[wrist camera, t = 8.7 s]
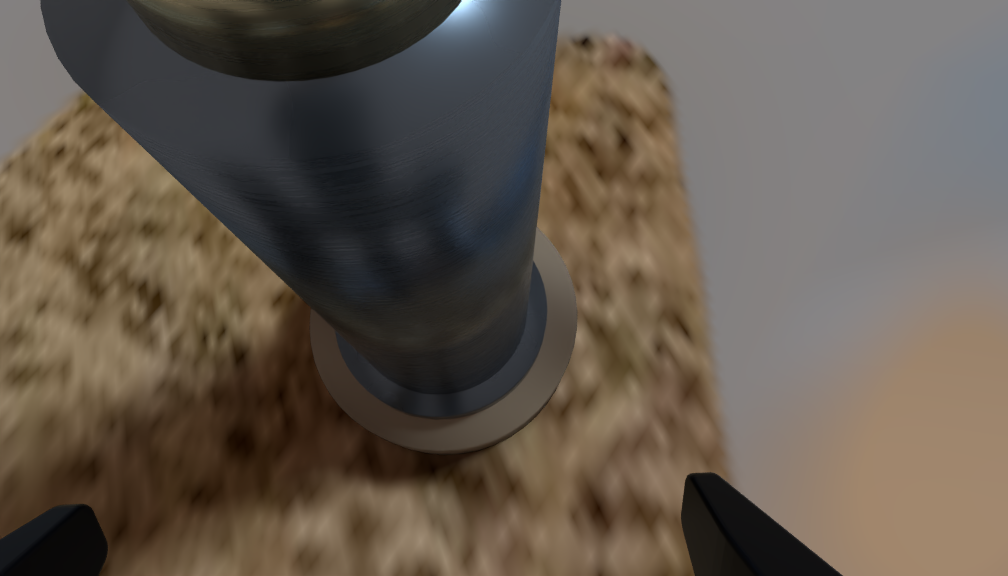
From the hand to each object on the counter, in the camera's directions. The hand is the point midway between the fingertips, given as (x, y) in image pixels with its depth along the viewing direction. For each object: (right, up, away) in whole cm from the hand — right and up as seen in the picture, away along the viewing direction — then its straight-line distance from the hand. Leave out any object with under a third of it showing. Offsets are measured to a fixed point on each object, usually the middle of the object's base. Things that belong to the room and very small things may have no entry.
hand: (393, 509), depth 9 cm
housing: (0, +2, +9) cm, 10 cm away
